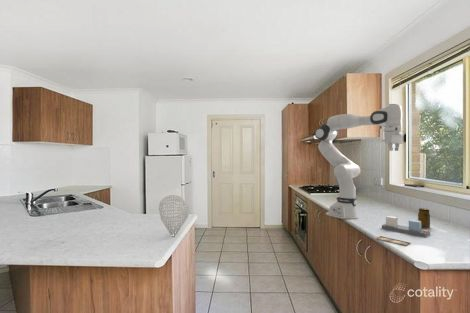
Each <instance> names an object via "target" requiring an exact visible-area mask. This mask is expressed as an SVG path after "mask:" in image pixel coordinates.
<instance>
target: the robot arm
mask: <svg viewBox="0 0 470 313" xmlns="http://www.w3.org/2000/svg"><path fill="white" fill-rule="evenodd" d="M402 110H403V109H402V106H401V105H400V104H396V103H389V104H387V105H386V106H384V107H382V108H380V109H378V110H376V111H373V112H371V114H370V115H369V116H360V115H356V114H350V113H342V114H341V113H340V114H336V115H333V116H330V117H329V118H328V119H327V121H326V122H327V123H326V124H325V123H324V124H322V125H321V126H319V127H318V128H316V129H315V131H314V136H315V138H316V139H317V140H319V141H320V142H319V143H318V145H317V148H318V151H319V152H320V153H321V155H322V156H323V157H324V158H325V159H326V161H327V162H329V164H330V165H331V166H333V167H334V168H333V174H334V176H335V177H336V179H337V182H338V186H339V187H338V188H339V194H338V195H339V196H338V197H336V202H335V203H333V204H331V205H329V209H328V211H327V212H325V215H327V216H329V217H330V216H331V217H333V218H337V219H343V220H344V219H345V220H346V219H347V220H349V219H351V220H352V219H358V218H359V214H358V212H357V204H358V203H357V198H356V197H357V196H356V195H357V191H356V190H357V188H356V186H355V184H354V180H353V178H356V177H358V176H359V175H360V174H361V167H360V166H359V165H358V164H356V163H354V162H353V161H352V160H351V159H349V158H348V157H346V156H345V155H344V154H343V153H342V152H341V151H340V150H339V149H338V148H337V147H336V146H335V144H333V143H335V142H336V140H337V139H338V137H339V131H338V130H348V129H353V128H356V127H361V126H374V125H375V126H381V127H384V128H383V137H384V143H385V144H387V145H388V151H389V152H390V151H391V152H393V150H394V151H395V152H397V151H399V149H400V144H401V145H402V143H403V134H402V132H403V122H402V119H403V111H402ZM393 145H395V146H394V147H393Z"/></svg>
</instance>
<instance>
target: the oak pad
mask: <svg viewBox="0 0 470 313" xmlns="http://www.w3.org/2000/svg"><path fill="white" fill-rule="evenodd" d="M376 240H379V241H383V242H387V243H391V244H396V245H399V246H405V247H407V246H408V245H410V244H411V242H408V241H404V240H399V239H397V238H396V239H395V238H391V237H386V236H381V235H380V236H378V237H376Z"/></svg>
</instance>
